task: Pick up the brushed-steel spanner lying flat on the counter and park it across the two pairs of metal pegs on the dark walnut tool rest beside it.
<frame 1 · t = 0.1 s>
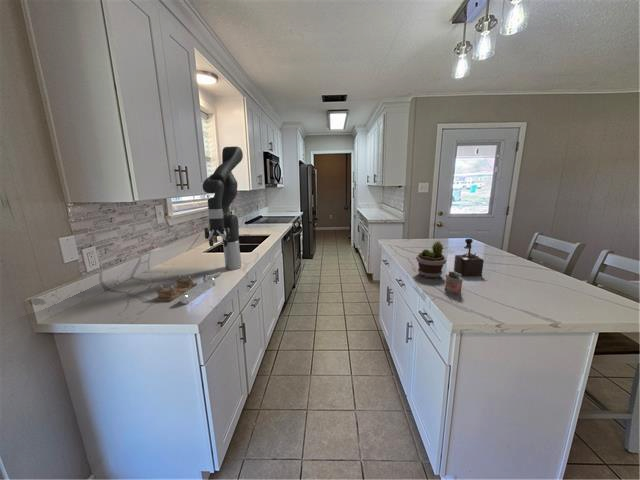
hand: (218, 246, 141), 17 cm above the countertop, tool pointing down, fingers open, 8 cm apart
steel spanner: (199, 293, 121), on the countertop
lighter: (452, 292, 117), on the countertop
caliper: (213, 280, 139), on the countertop
flowerpot: (429, 275, 138), on the countertop
tool rest: (177, 292, 123), on the countertop
brown box with post: (465, 272, 143), on the countertop
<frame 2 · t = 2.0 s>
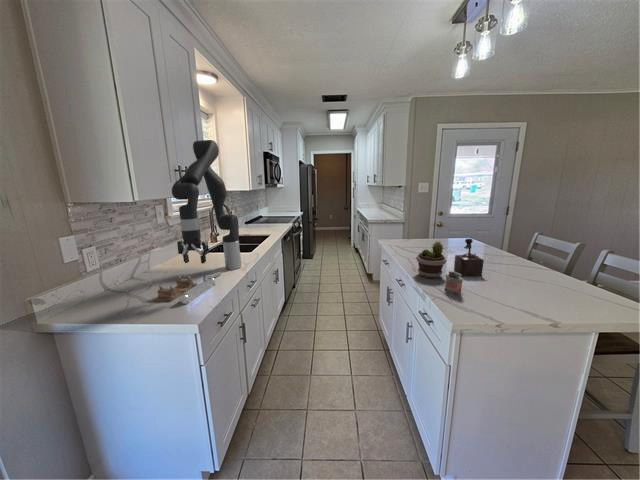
hand: (195, 262, 117), 16 cm above the countertop, tool pointing down, fingers open, 8 cm apart
nothing on the countertop moved.
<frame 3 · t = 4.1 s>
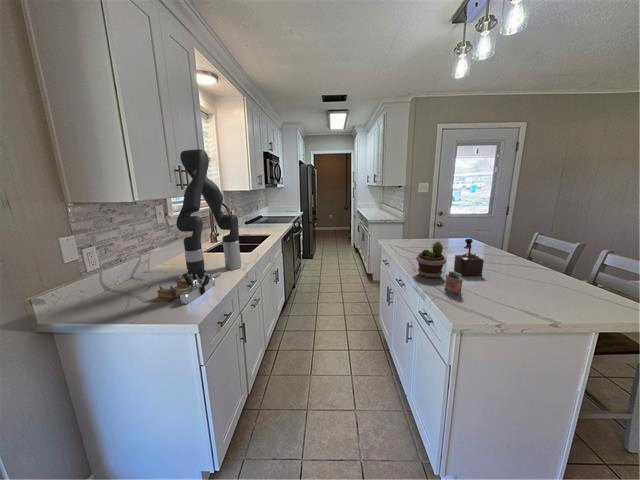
hand: (199, 293, 121), 0 cm above the countertop, tool pointing down, fingers closed on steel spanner, 3 cm apart
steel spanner: (199, 293, 121), on the countertop, touching gripper
everything else where it was.
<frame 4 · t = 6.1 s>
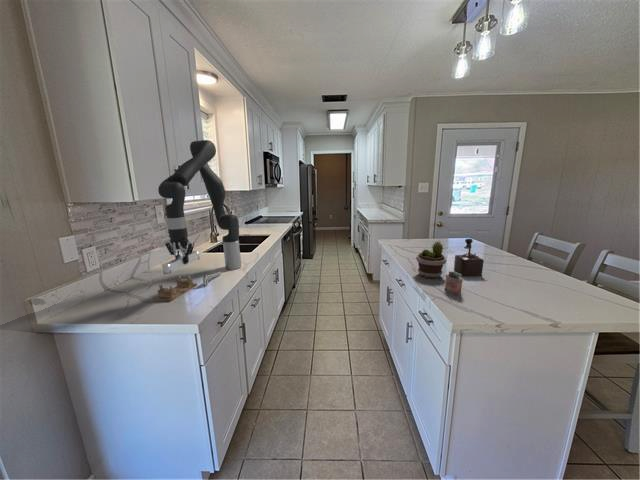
hand: (182, 263, 118), 15 cm above the countertop, tool pointing down, fingers closed on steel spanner, 3 cm apart
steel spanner: (183, 265, 118), point 14 cm above the countertop, touching gripper
everything else where it was.
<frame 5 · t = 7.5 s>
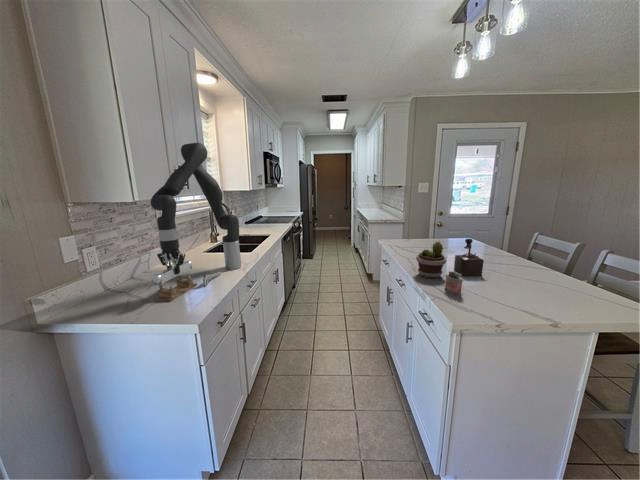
hand: (174, 273, 120), 10 cm above the countertop, tool pointing down, fingers closed on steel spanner, 3 cm apart
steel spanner: (174, 275, 121), point 9 cm above the countertop, touching gripper
everything else where it was.
when the fingers open (6 cm above the countertop, at t = 8.5 s): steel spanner stays where it is, resting on tool rest.
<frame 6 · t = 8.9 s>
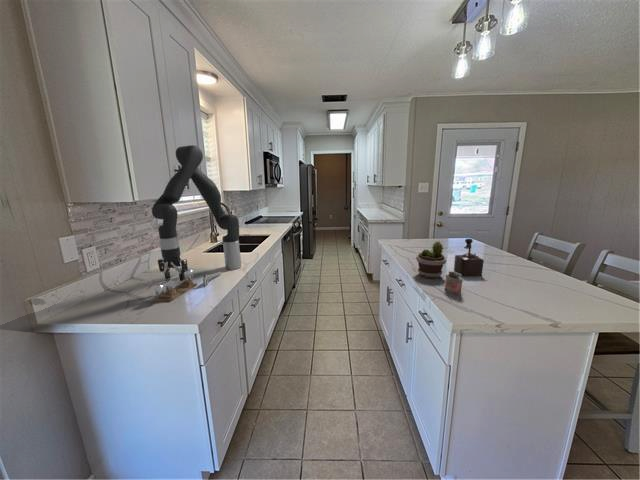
hand: (175, 280, 121), 6 cm above the countertop, tool pointing down, fingers open, 7 cm apart
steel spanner: (176, 284, 122), point 4 cm above the countertop, touching tool rest
everything else where it was.
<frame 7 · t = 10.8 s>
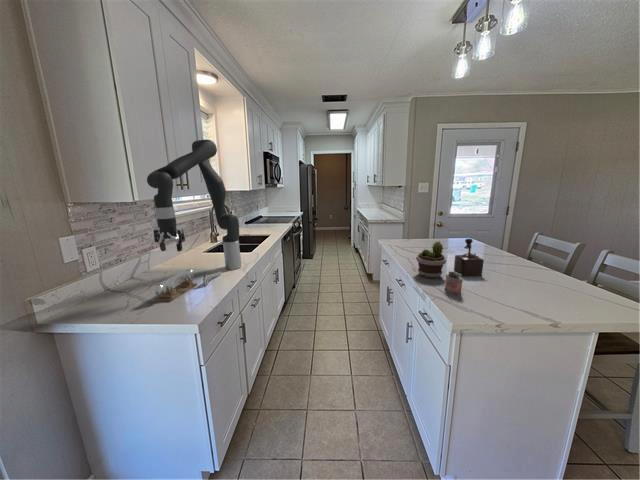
hand: (171, 250, 120), 21 cm above the countertop, tool pointing down, fingers open, 8 cm apart
nothing on the countertop moved.
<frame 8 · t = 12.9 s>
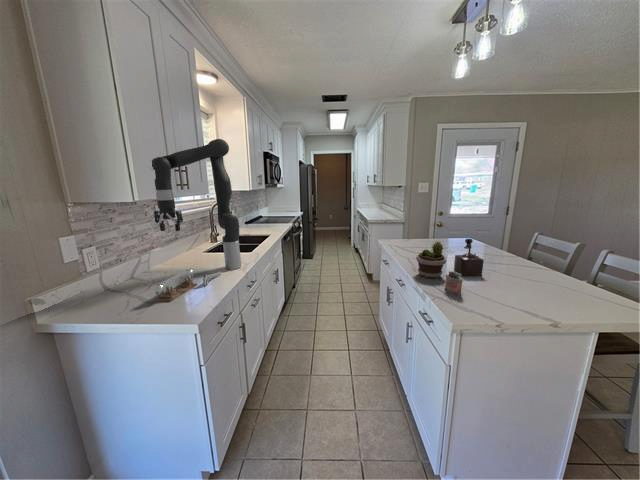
hand: (170, 230, 130), 28 cm above the countertop, tool pointing down, fingers open, 8 cm apart
nothing on the countertop moved.
at the end: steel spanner 0.1 cm off-centre on the tool rest, point 4.0 cm above the tool rest's base; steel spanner touching tool rest; the gripper is holding nothing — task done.
